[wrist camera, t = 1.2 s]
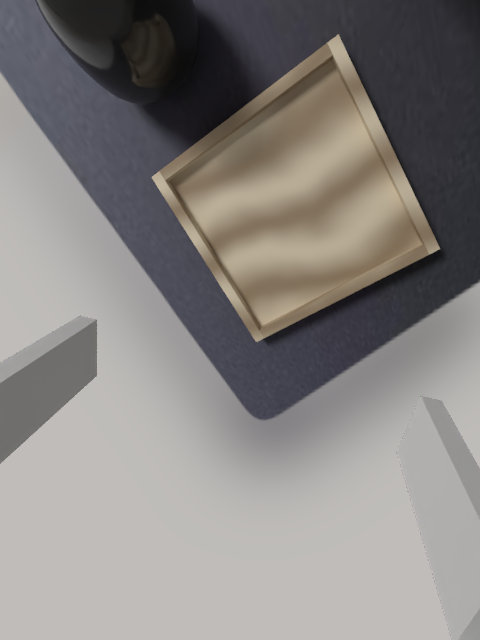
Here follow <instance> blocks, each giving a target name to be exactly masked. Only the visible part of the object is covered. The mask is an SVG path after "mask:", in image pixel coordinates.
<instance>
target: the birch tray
mask: <svg viewBox="0 0 480 640" xmlns="http://www.w3.org/2000/svg"><path fill="white" fill-rule="evenodd" d="M152 179H153V180H154V182H155V184H156V185H157V187H158V188H159V190H160V191H161V193H162V195H163V196H164V198H165V199H166V201H167V202H168V204H169V206H170V207H171V209H172V210H173V212H174V213H175V215H176V217H177V218H178V220H179V221H180V223H181V224H182V226H183V228H184V229H185V231H186V232H187V234H188V236H189V237H190V239H191V240H192V242H193V243H194V245H195V247H196V248H197V250H198V251H199V253H200V254H201V256H202V258H203V259H204V261H205V262H206V264H207V265H208V267H209V269H210V270H211V272H212V273H213V275H214V276H215V278H216V280H217V281H218V283H219V284H220V286H221V287H222V289H223V291H224V292H225V294H226V295H227V297H228V298H229V300H230V302H231V303H232V305H233V306H234V308H235V309H236V311H237V313H238V314H239V316H240V317H241V319H242V320H243V322H244V324H245V325H246V327H247V328H248V330H249V332H250V333H251V335H252V336H253V338H254V339H255V341H256V342H258V341H260V340H262V339H264V338H266V337H268V336H270V335H272V334H274V333H275V332H277V331H279V330H281V329H283V328H285V327H287V326H289V325H291V324H293V323H295V322H297V321H299V320H301V319H303V318H305V317H307V316H309V315H311V314H313V313H315V312H317V311H319V310H321V309H323V308H325V307H327V306H329V305H331V304H333V303H335V302H337V301H339V300H341V299H343V298H345V297H347V296H349V295H351V294H353V293H354V292H356V291H358V290H360V289H362V288H364V287H366V286H368V285H370V284H372V283H374V282H376V281H378V280H380V279H382V278H384V277H386V276H388V275H390V274H392V273H394V272H396V271H398V270H400V269H402V268H404V267H406V266H408V265H410V264H412V263H414V262H416V261H418V260H420V259H422V258H424V257H426V256H428V255H430V254H432V253H434V252H435V251H437V250H439V249H440V247H439V245H438V243H437V241H436V239H435V237H434V235H433V233H432V230H431V228H430V226H429V224H428V222H427V220H426V218H425V216H424V214H423V211H422V209H421V207H420V205H419V203H418V201H417V199H416V197H415V195H414V192H413V190H412V188H411V186H410V184H409V182H408V180H407V178H406V176H405V173H404V171H403V169H402V167H401V165H400V163H399V161H398V159H397V157H396V155H395V152H394V150H393V148H392V146H391V144H390V142H389V140H388V138H387V136H386V133H385V131H384V129H383V127H382V125H381V123H380V121H379V119H378V117H377V114H376V112H375V110H374V108H373V106H372V104H371V102H370V100H369V98H368V95H367V93H366V91H365V89H364V87H363V85H362V83H361V81H360V79H359V77H358V74H357V72H356V70H355V68H354V66H353V64H352V62H351V60H350V58H349V55H348V53H347V51H346V49H345V47H344V45H343V43H342V41H341V39H340V36H339V34H338V35H337V36H336V37H334V38H333V39H332V40H330V41H329V42H328V43H326V44H325V45H324V46H323V47H321V48H320V49H319V50H317V51H316V52H315V53H313V54H312V55H311V56H309V57H308V58H307V59H306V60H304V61H303V62H302V63H300V64H299V65H298V66H296V67H295V68H294V69H292V70H291V71H290V72H289V73H287V74H286V75H285V76H283V77H282V78H281V79H279V80H278V81H277V82H275V83H274V84H273V85H272V86H270V87H269V88H268V89H266V90H265V91H264V92H262V93H261V94H260V95H258V96H257V97H256V98H255V99H253V100H252V101H251V102H249V103H248V104H247V105H245V106H244V107H243V108H241V109H240V110H239V111H237V112H236V113H235V114H234V115H232V116H231V117H230V118H228V119H227V120H226V121H224V122H223V123H222V124H220V125H219V126H218V127H217V128H215V129H214V130H213V131H211V132H210V133H209V134H207V135H206V136H205V137H203V138H202V139H201V140H200V141H198V142H197V143H196V144H194V145H193V146H192V147H190V148H189V149H188V150H186V151H185V152H184V153H183V154H181V155H180V156H179V157H177V158H176V159H175V160H173V161H172V162H171V163H169V164H168V165H167V166H166V167H164V168H163V169H162V170H160V171H159V172H158V173H156V174H155V175H154V176H152Z"/></svg>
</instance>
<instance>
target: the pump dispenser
mask: <svg viewBox="0 0 480 640" xmlns="http://www.w3.org/2000/svg"><path fill="white" fill-rule="evenodd" d="M35 2H36V4H37V6H38V8H39V10H40V12H41V14H42V16H43V18H44V20H45V21H46V23H47V25H48V26H49V28H50V29H51V31H52V32H53V34H54V35H55V37H56V38H57V39H58V41H59V42H60V43H61V45H62V46H63V47H64V48H65V50H66V51H67V52H68V53H69V55H70V56H71V57H72V58H73V59H74V60H75V62H76V63H77V64H78V65H79V66H80V67H81V68H82V69H83V70H84V71H85V72H86V73H87V74H88V75H89V76H90V77H91V78H92V79H93V80H95V81H96V82H97V83H98V84H99V85H101V86H102V87H103V88H104V89H106V90H107V91H108V92H110V93H111V94H113V95H115V96H116V97H118V98H120V99H123V100H125V101H128V102H131V103H135V104H152V103H156V102H159V101H162V100H164V99H166V98H168V97H169V96H171V95H172V94H173V93H174V92H176V91H177V90H178V89H179V88H180V87H181V85H182V84H183V83H184V82H185V80H186V79H187V77H188V75H189V74H190V72H191V69H192V67H193V64H194V61H195V58H196V54H197V49H198V42H199V25H198V17H197V12H196V8H195V5H194V2H193V0H35Z"/></svg>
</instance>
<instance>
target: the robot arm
mask: <svg viewBox="0 0 480 640" xmlns="http://www.w3.org/2000/svg"><path fill="white" fill-rule="evenodd" d="M96 375H97V320H96V319H92V318H87V317H83V316H79V317H77V318H75V319H73V320H72V321H70V322H68V323H67V324H65V325H63V326H62V327H60V328H58V329H57V330H55V331H53V332H52V333H50V334H48V335H46V336H45V337H43V338H41V339H40V340H38V341H36V342H35V343H33V344H32V345H30V346H28V347H26V348H24V349H23V350H21V351H20V352H18V353H16V354H14V355H13V356H11V357H9V358H8V359H6V360H4V361H3V362H1V363H0V463H1V462H2V461H4V460H5V459H6V458H7V457H8V456H9V455H10V454H11V453H12V452H14V451H15V450H16V449H17V448H18V447H19V446H20V445H21V444H22V443H23V442H25V441H26V440H27V439H28V438H29V437H30V436H31V435H32V434H33V433H34V432H35V431H37V430H38V429H39V428H40V427H41V426H42V425H43V424H44V423H45V422H46V421H48V420H49V419H50V418H51V417H52V416H53V415H54V414H55V413H56V412H57V411H58V410H60V409H61V408H62V407H63V406H64V405H65V404H66V403H67V402H68V401H69V400H70V399H72V398H73V397H74V396H75V395H76V394H77V393H78V392H79V391H80V390H82V389H83V388H84V387H85V386H86V385H87V384H88V383H89V382H90V381H91V380H93V379H94V378H95V377H96ZM397 455H398V459H399V462H400V465H401V469H402V472H403V476H404V479H405V482H406V486H407V489H408V493H409V496H410V500H411V503H412V507H413V510H414V513H415V517H416V520H417V523H418V527H419V530H420V534H421V537H422V541H423V544H424V547H425V551H426V554H427V558H428V561H429V564H430V568H431V571H432V575H433V578H434V582H435V585H436V588H437V592H438V595H439V598H440V602H441V605H442V609H443V612H444V616H445V619H446V622H447V626H448V629H449V633H450V636H451V639H452V640H480V469H479V467H478V465H477V463H476V461H475V459H474V458H473V456H472V454H471V452H470V451H469V449H468V447H467V445H466V443H465V442H464V440H463V438H462V436H461V435H460V433H459V431H458V429H457V427H456V426H455V424H454V422H453V420H452V418H451V417H450V415H449V413H448V411H447V410H446V408H445V406H444V404H443V402H442V401H440V400H436V399H432V398H428V397H423V396H420V398H419V400H418V403H417V405H416V408H415V410H414V412H413V415H412V417H411V419H410V422H409V424H408V426H407V429H406V431H405V433H404V436H403V438H402V441H401V443H400V445H399V447H398V450H397Z"/></svg>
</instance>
